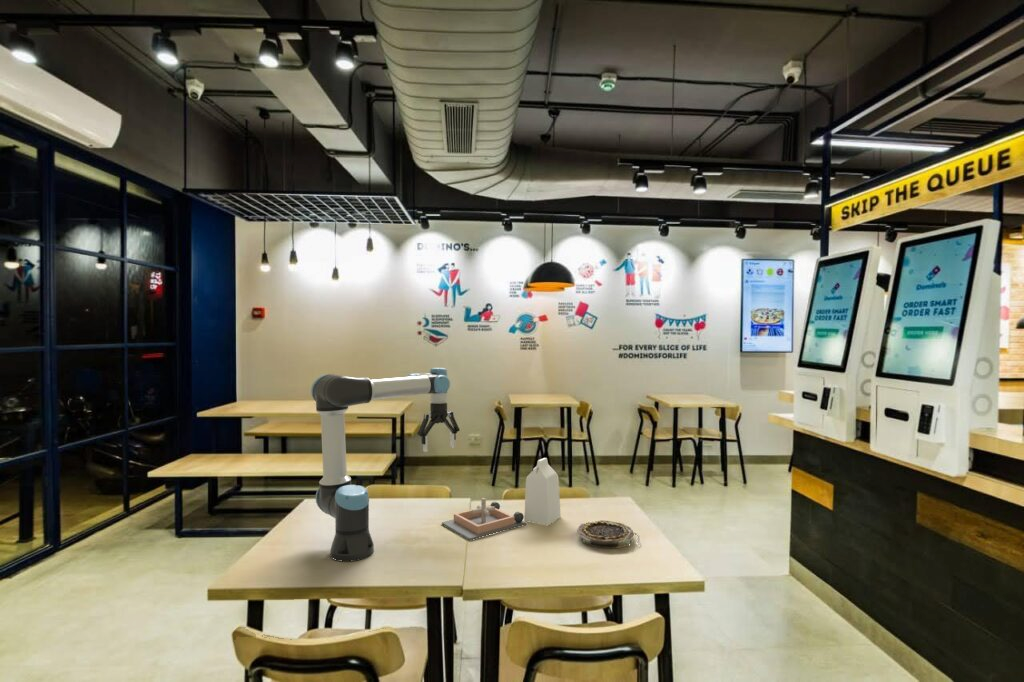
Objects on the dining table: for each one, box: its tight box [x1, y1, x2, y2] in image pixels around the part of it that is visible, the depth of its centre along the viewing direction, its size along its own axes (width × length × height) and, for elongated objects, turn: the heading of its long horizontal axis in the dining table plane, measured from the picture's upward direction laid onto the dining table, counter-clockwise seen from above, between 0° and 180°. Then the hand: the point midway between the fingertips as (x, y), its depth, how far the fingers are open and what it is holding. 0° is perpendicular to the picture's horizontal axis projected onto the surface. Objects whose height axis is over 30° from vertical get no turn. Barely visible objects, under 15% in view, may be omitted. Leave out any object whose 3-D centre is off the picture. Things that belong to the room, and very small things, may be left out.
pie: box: [577, 520, 642, 549], centre depth 197 cm, size 28×27×5 cm
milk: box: [523, 457, 562, 527], centre depth 219 cm, size 12×12×26 cm
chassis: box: [441, 501, 527, 541], centre depth 212 cm, size 28×22×5 cm
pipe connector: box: [471, 497, 495, 523], centre depth 212 cm, size 10×10×10 cm
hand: (438, 449), depth 227 cm, fingers open, 13 cm apart
